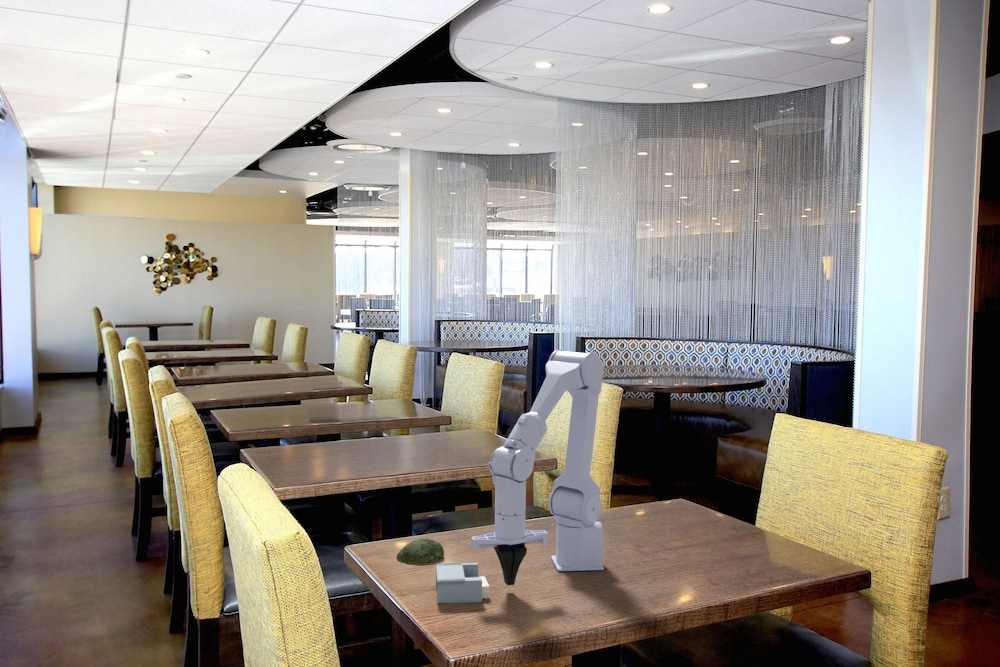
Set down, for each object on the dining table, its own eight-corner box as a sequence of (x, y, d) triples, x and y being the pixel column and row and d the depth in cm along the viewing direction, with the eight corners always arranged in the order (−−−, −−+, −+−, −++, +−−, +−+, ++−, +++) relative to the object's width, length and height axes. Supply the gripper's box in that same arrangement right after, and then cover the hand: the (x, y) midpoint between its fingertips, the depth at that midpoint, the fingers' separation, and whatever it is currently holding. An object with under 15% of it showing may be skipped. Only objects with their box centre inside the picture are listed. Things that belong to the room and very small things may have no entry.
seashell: (405, 528, 169) (449, 533, 166) (405, 546, 169) (449, 551, 167) (388, 547, 159) (435, 552, 157) (389, 566, 160) (435, 571, 157)
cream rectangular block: (484, 589, 147) (484, 576, 146) (489, 600, 142) (489, 586, 142) (442, 592, 145) (442, 578, 145) (445, 602, 140) (445, 588, 140)
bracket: (477, 583, 149) (477, 562, 149) (481, 602, 140) (482, 580, 140) (435, 584, 148) (436, 563, 148) (437, 603, 139) (437, 581, 139)
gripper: (539, 503, 150) (538, 571, 151) (467, 508, 146) (466, 579, 147) (552, 513, 143) (551, 585, 144) (477, 519, 139) (476, 593, 140)
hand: (509, 583), depth 145 cm, fingers closed
